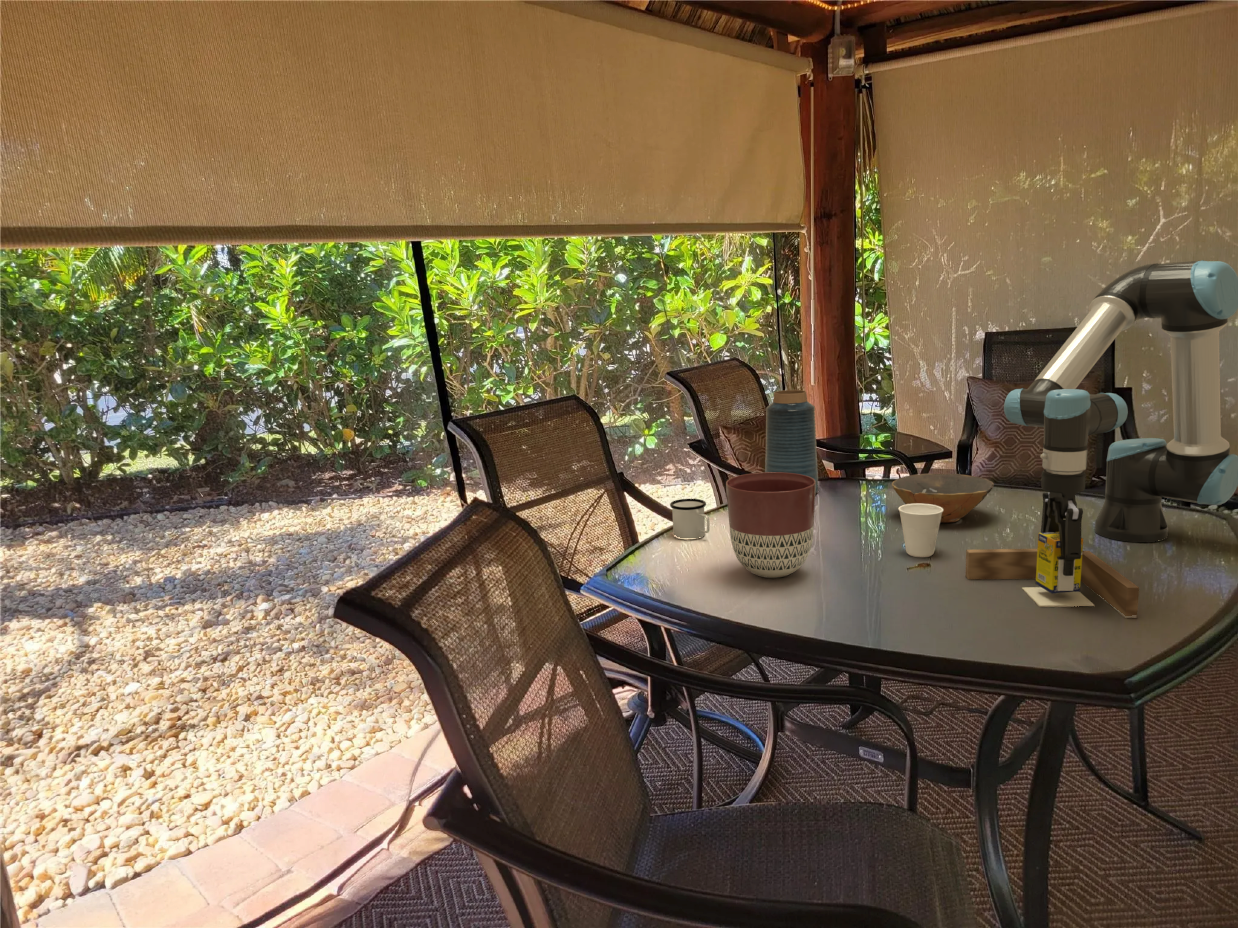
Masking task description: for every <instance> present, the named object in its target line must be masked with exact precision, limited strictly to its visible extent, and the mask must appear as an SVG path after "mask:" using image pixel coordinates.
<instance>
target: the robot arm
mask: <svg viewBox="0 0 1238 928" xmlns="http://www.w3.org/2000/svg"><path fill="white" fill-rule="evenodd" d="M1237 311H1238V274H1237V272H1236V271H1235V269H1234V268H1233V267H1232V266H1231V265H1230V264H1229V263H1228V262H1224V261H1220V260H1217V261H1215V260H1213V261H1209V260H1204V259H1203V260H1193V261H1179V262H1178V261H1177V262H1166V263H1148V264H1143V265H1139V266H1137V267H1134V268H1132V269H1131V270H1129V271H1126V272H1125V273H1122V274H1121V275H1119V276H1118V277H1117V278H1115V279H1113V280H1112V281H1111V282H1109V283H1108V284H1107V285H1106V286H1105V287H1104V288H1103V289H1101V290H1100V291H1099V292H1098V293H1097V294H1096V296H1094V298H1093V299H1092V301H1091V302H1090V303H1089V305H1088V313H1087V314H1086V316H1085V317H1084V318H1083V320H1081V322H1080V323H1079V325H1077V327H1076V328H1075V330H1074V331H1073V332H1072V334H1070V335H1069V336H1068V338H1067V339H1066V340H1065V342H1064V343H1063V344H1062V346H1061V347H1060V349H1058V350H1057V352H1056V353H1055V354H1054V356H1053V357H1052V358H1051V360H1049V362H1048V363H1047V364H1046V365H1045V367H1044V368H1043V369H1042V371H1040V373H1039V375H1038V376H1037V377H1036V378H1035V379H1034V381H1033V382H1032V383H1031V384H1030V386H1028V388H1027V389H1026V388H1023V387H1022V388H1016V389H1013V390H1011V391H1010V392H1009V393H1008V394H1007V395H1006V398H1005V400H1004V404H1003V411H1004V415H1005V417H1006V420H1007V421H1008V422H1010V423H1012V424H1015V425H1021V426H1026V427H1038V428H1043V445H1042V446H1043V447H1042V451H1043V452H1042V454H1041V453H1040V457H1039V458H1040V459H1042V468H1043V471H1041V481H1040V487H1041V489H1042V490H1043V491H1045V492H1042V511H1041V512H1042V513H1041V524H1040V533H1048V532H1059V537H1060V549H1061V556H1058V557H1057V559H1058V560H1059V561H1058V581H1057V590H1058V591H1073V587H1074V569H1075V559H1081V538H1082V520H1083V514H1084V510H1083V508H1082V507H1081V508H1080V507H1077V506H1078V503H1077V501H1076V494H1077V495H1078V493H1083V492H1084V491H1085V490H1086V476H1087V474H1086V473H1085V470H1087V465H1088V463H1087V461H1088V439H1089V436H1092V435H1097V434H1102V433H1105V434H1106V433H1108V432H1111V431H1113V430H1116V429H1118V428H1120V427H1121V426H1123V424H1124V423H1125V422H1126V420H1127V418H1128V414H1129V413H1128V412H1129V411H1128V405H1127V403H1126V401H1125V400H1124V399H1123V398H1122V396H1120V395H1118V394H1116V393H1112V392H1106V393H1104V392H1099V393H1097V394H1092V393H1091V394H1090V393H1089V392H1088V391H1087V390H1084V389H1079V388H1078V386H1079V385H1080V384H1081V383H1082V381H1083V380H1084V378H1086V376H1087V375H1088V373H1089V372H1090V371H1091V370H1092V369H1093V367H1094V366H1095V364H1096V363H1097V362H1098V361H1099V360H1100V358H1101V357H1102V356H1103V355H1104V353H1105V352H1106V351H1107V349H1108V348H1109V347H1110V346H1111V344H1112V343H1113V342H1114V341H1115V339H1116V338H1117V336H1119V334H1120V333H1121V332H1123V331H1126V330H1128V329H1130V328H1131V327H1132V326H1133V324H1134V323H1135V322H1136V321H1138V320H1143V319H1160V322H1161V324H1160V325H1161V331H1163V332H1164V333H1165V334H1167V335H1169V337H1170V338H1169V339H1170V362H1171V363H1170V364H1171V365H1170V366H1171V390H1172V415H1173V416H1172V418H1173V421H1172V422H1173V438H1172V439H1171V440H1170V441H1169V442H1167V441H1166V439H1164V438H1157V437H1156V438H1155V437H1148V438H1147V437H1145V438H1141V437H1140V438H1131V439H1123V440H1117V441H1115V442H1112V443H1111V444H1110V445H1109V447H1108V451H1107V457H1106V471H1105V472H1106V473H1105V474H1106V476H1105V494H1104V502H1103V504H1102V505H1101V508H1100V511H1099V513H1098V515H1097V517H1096V520H1095V523H1094V532H1095V533H1096V534H1098V535H1100V536H1101V537H1104V538H1107V539H1111V540H1114V541H1115V540H1117V541H1123V542H1132V543H1153V542H1155V541H1156V542H1159V541H1158V540H1161V541H1163V540H1162V539H1164V538H1166V537H1167V536H1168V537H1169V535H1168V534H1169V525H1168V522H1167V519H1166V515H1165V513H1164V510H1163V506H1162V499H1163V498H1165V499H1167V498H1168V499H1171V500H1177V501H1178V500H1179V501H1182V502H1183V501H1184V502H1190V503H1194V504H1198V505H1209V506H1210V505H1211V506H1221V505H1222V504H1225V503H1226V502H1227V501H1229V500H1230V499H1231V498H1232V496H1234V493H1235V492H1236V490H1237V489H1238V455H1236V453H1231V451H1230V450H1231V448H1230V441H1228V440H1227V439H1225V438H1224V437H1223V436H1222V432H1221V431H1222V430H1221V429H1222V428H1221V427H1222V425H1221V421H1222V420H1221V385H1220V384H1221V380H1220V379H1221V377H1220V375H1221V373H1220V372H1221V371H1220V369H1221V368H1220V331H1221V330H1223V328H1224V327H1226V326H1227V325H1228V324H1229V323H1228V320H1229V318H1231V317H1233V316H1234V315H1235V314H1236V312H1237ZM1077 388H1078V389H1077ZM1168 537H1167V538H1168ZM1167 538H1166V539H1167ZM1164 540H1165V539H1164Z"/></svg>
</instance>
